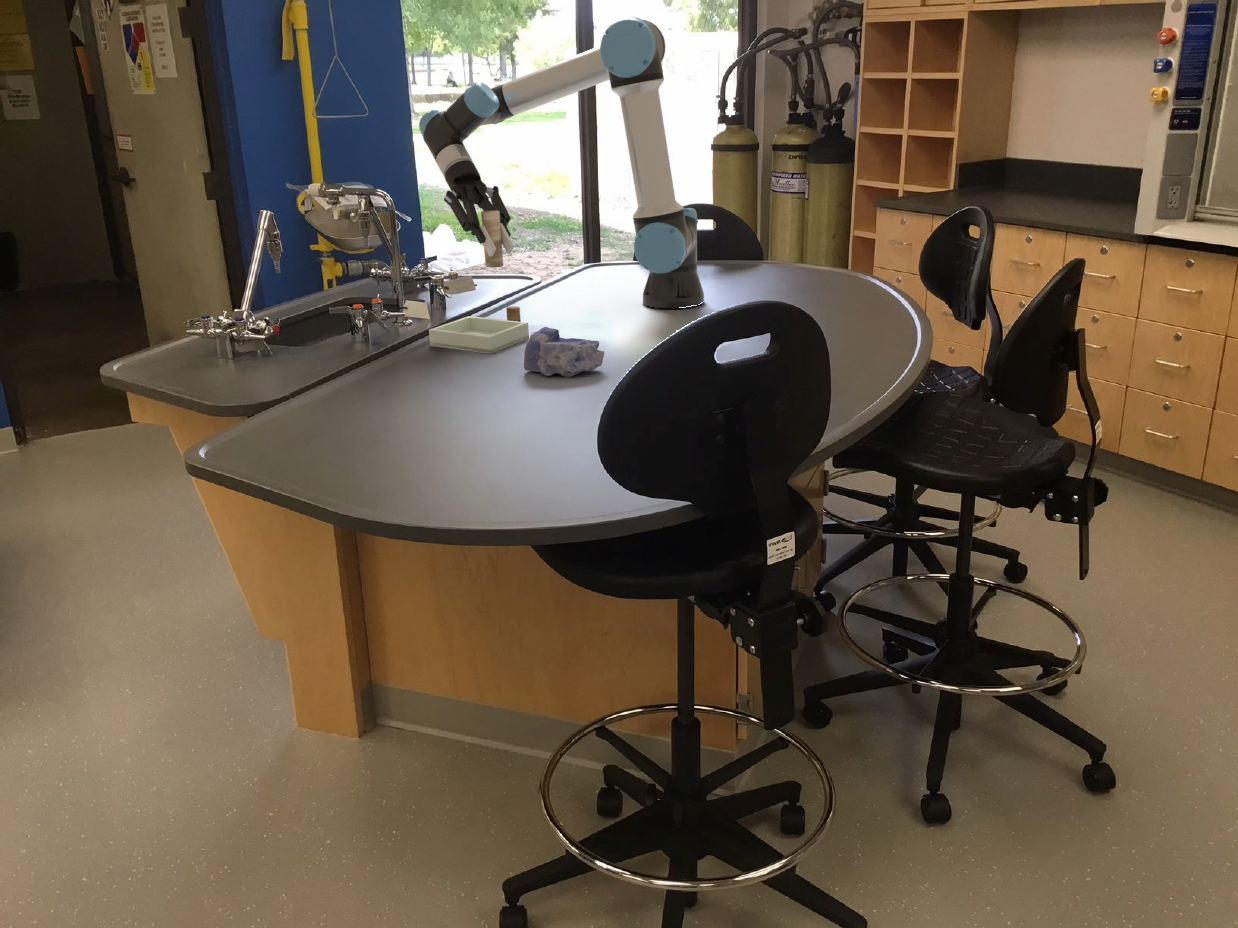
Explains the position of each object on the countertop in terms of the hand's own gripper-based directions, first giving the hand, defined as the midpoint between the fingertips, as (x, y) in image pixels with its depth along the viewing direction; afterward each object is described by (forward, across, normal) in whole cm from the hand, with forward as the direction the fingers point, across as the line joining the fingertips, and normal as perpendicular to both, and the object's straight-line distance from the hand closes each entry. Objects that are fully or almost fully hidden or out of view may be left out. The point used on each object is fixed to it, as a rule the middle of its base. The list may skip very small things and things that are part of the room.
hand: (501, 251), depth 224 cm
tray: (+17, +12, -7) cm, 22 cm away
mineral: (+40, +11, +15) cm, 45 cm away
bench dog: (+14, 0, -10) cm, 18 cm away
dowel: (0, 0, -5) cm, 5 cm away
